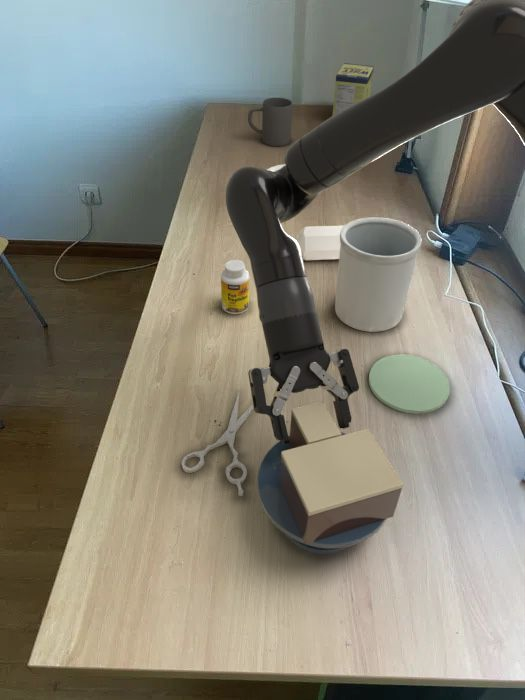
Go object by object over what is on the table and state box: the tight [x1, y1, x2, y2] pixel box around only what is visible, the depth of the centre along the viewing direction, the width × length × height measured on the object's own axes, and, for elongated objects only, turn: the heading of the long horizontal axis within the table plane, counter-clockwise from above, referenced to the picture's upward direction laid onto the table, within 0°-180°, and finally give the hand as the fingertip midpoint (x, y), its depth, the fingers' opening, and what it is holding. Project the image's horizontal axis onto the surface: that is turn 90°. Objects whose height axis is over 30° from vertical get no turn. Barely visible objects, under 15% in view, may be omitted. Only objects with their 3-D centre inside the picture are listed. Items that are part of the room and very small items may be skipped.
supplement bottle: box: [220, 259, 250, 315], centre depth 112 cm, size 6×6×10 cm
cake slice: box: [289, 400, 342, 449], centre depth 75 cm, size 4×6×7 cm
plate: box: [368, 353, 451, 415], centre depth 99 cm, size 14×14×1 cm
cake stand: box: [257, 428, 404, 555], centre depth 75 cm, size 18×18×15 cm
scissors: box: [181, 391, 254, 497], centre depth 89 cm, size 11×1×20 cm
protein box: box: [331, 62, 375, 117], centre depth 191 cm, size 10×16×16 cm
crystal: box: [294, 224, 346, 261], centre depth 129 cm, size 7×7×24 cm
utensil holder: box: [334, 216, 423, 333], centre depth 109 cm, size 15×15×18 cm
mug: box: [247, 97, 293, 147], centre depth 176 cm, size 14×9×12 cm
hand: (315, 435), depth 75 cm, fingers open, 8 cm apart
